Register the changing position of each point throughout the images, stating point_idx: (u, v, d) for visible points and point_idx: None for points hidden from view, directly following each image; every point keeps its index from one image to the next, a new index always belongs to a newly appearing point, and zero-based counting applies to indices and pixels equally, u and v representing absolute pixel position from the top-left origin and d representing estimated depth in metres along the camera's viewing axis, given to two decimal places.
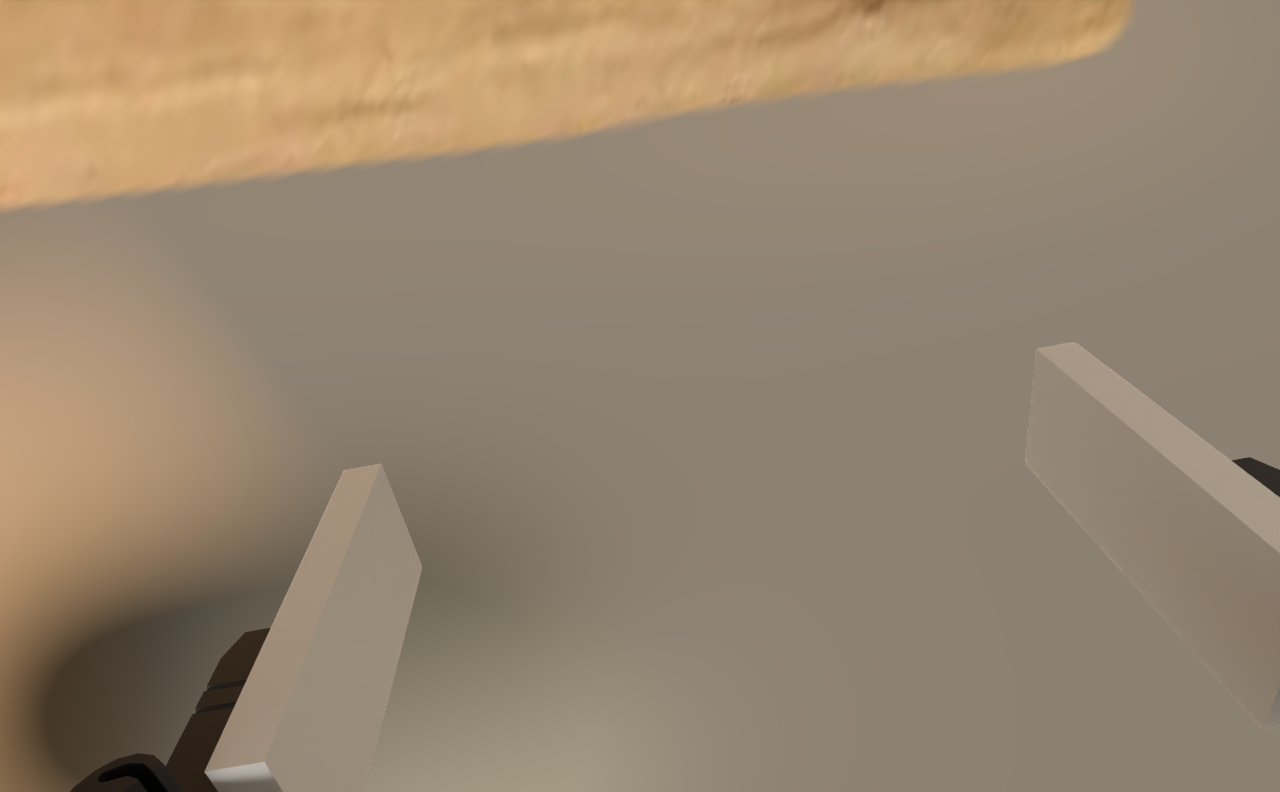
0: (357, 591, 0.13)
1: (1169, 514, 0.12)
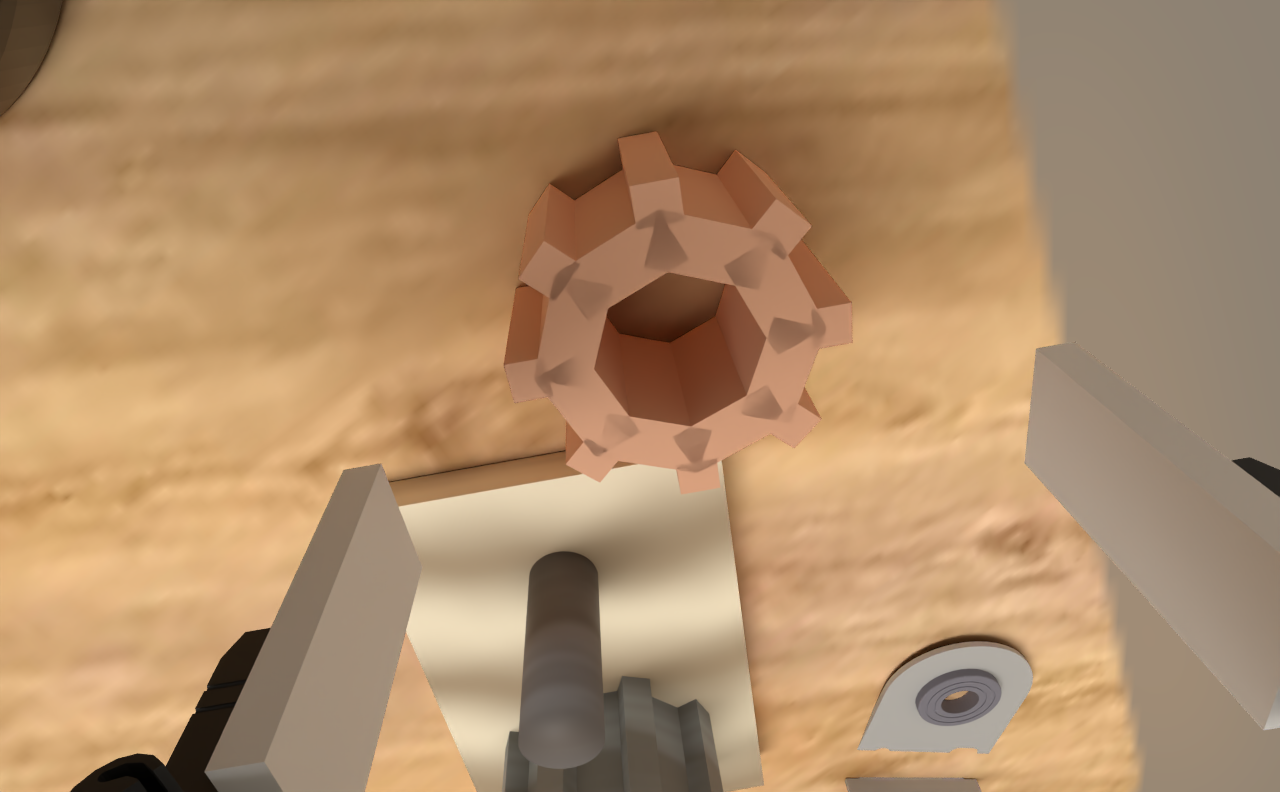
0: (357, 591, 0.13)
1: (1169, 514, 0.12)
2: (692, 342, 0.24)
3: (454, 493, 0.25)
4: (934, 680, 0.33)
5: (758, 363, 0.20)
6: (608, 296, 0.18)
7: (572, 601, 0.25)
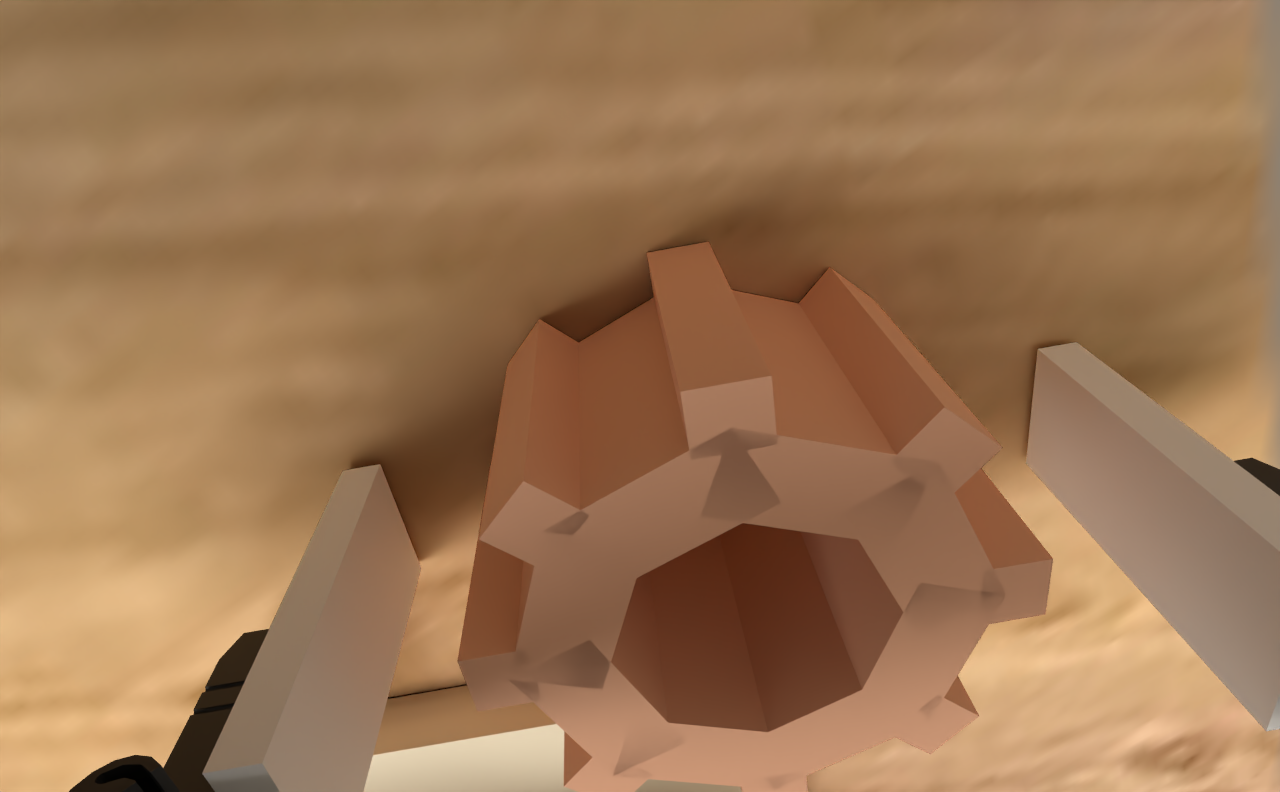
0: (356, 592, 0.13)
1: (1171, 514, 0.12)
2: (754, 540, 0.16)
3: (404, 742, 0.17)
4: None
5: (886, 646, 0.12)
6: (637, 560, 0.10)
7: None
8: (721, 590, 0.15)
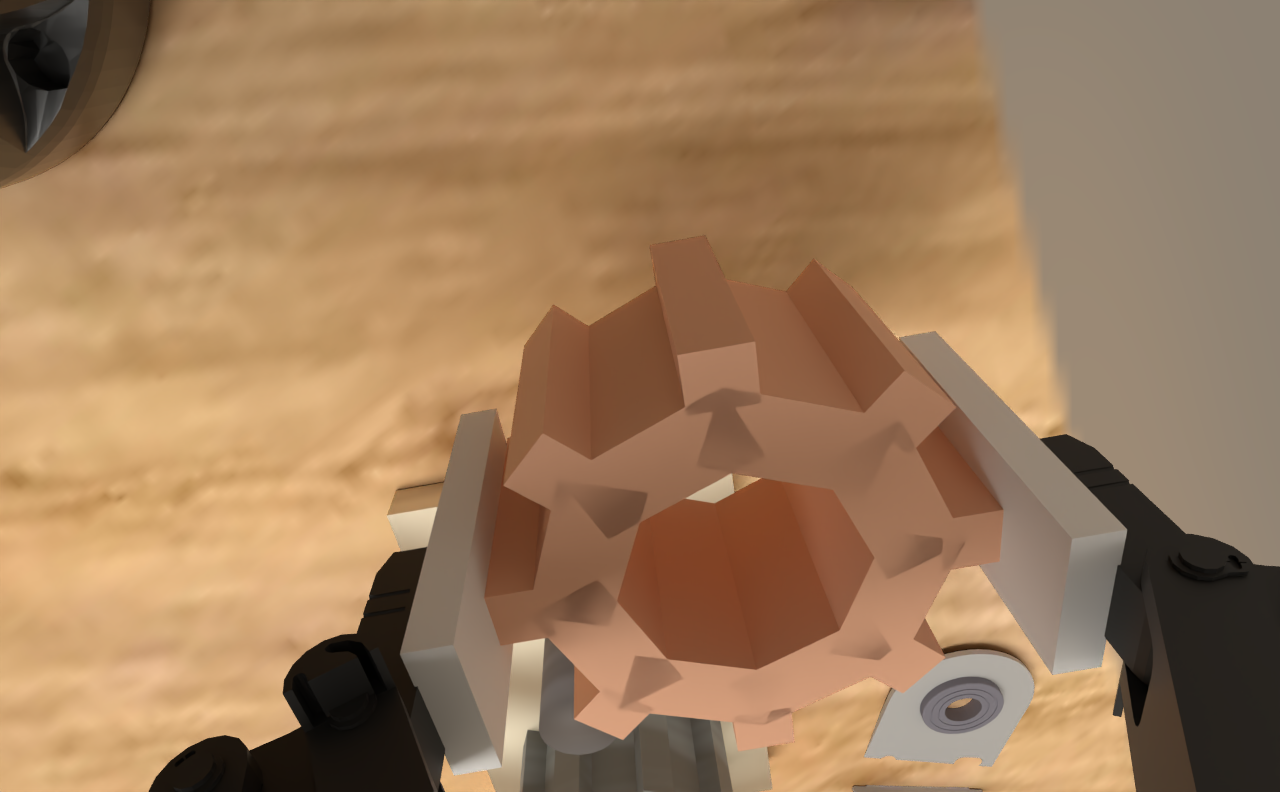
0: (491, 517, 0.14)
1: (986, 484, 0.13)
2: (747, 509, 0.17)
3: None
4: (937, 687, 0.34)
5: (860, 590, 0.13)
6: (640, 507, 0.12)
7: None
8: (716, 552, 0.17)
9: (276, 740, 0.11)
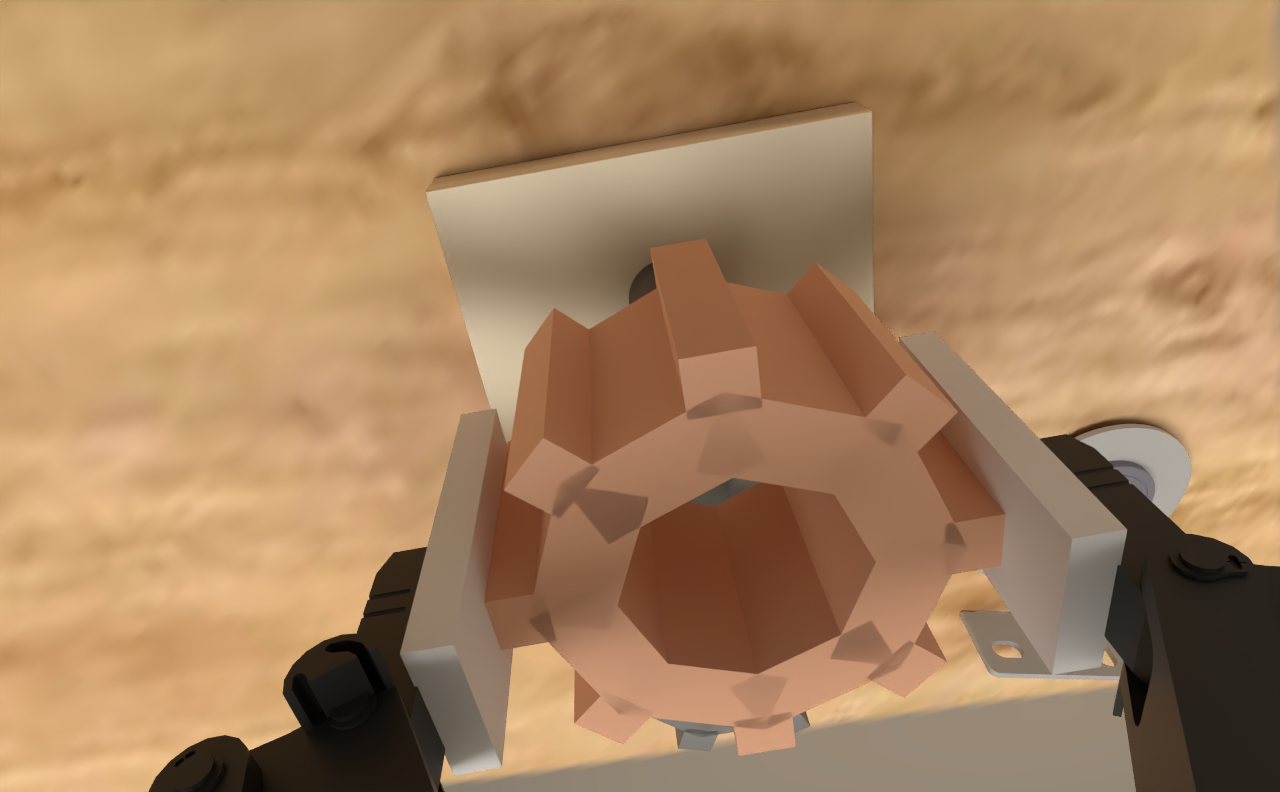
0: (491, 517, 0.14)
1: (986, 484, 0.13)
2: (747, 512, 0.17)
3: (546, 168, 0.21)
4: None
5: (861, 594, 0.13)
6: (641, 511, 0.12)
7: None
8: (717, 556, 0.17)
9: (275, 740, 0.11)
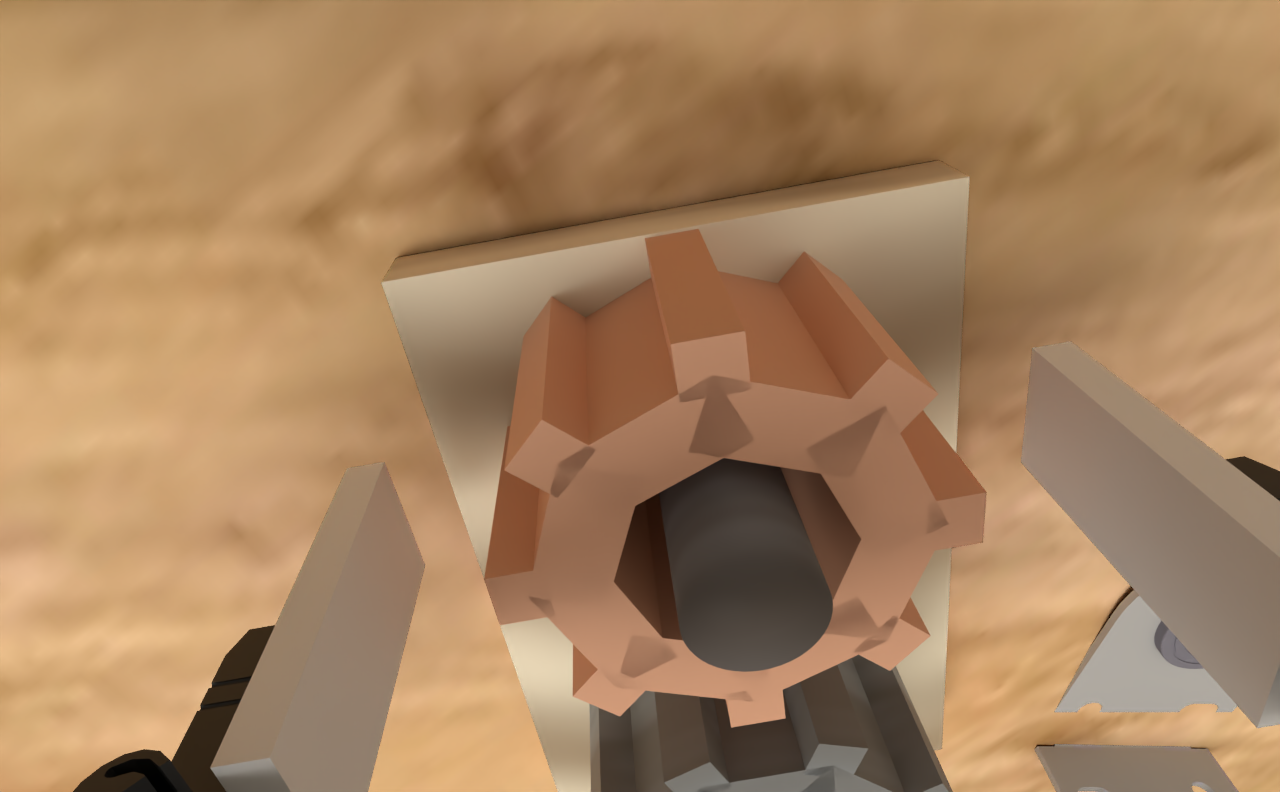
0: (361, 589, 0.13)
1: (1163, 513, 0.12)
2: None
3: (540, 250, 0.16)
4: None
5: (847, 570, 0.14)
6: (636, 490, 0.13)
7: None
8: None
9: None
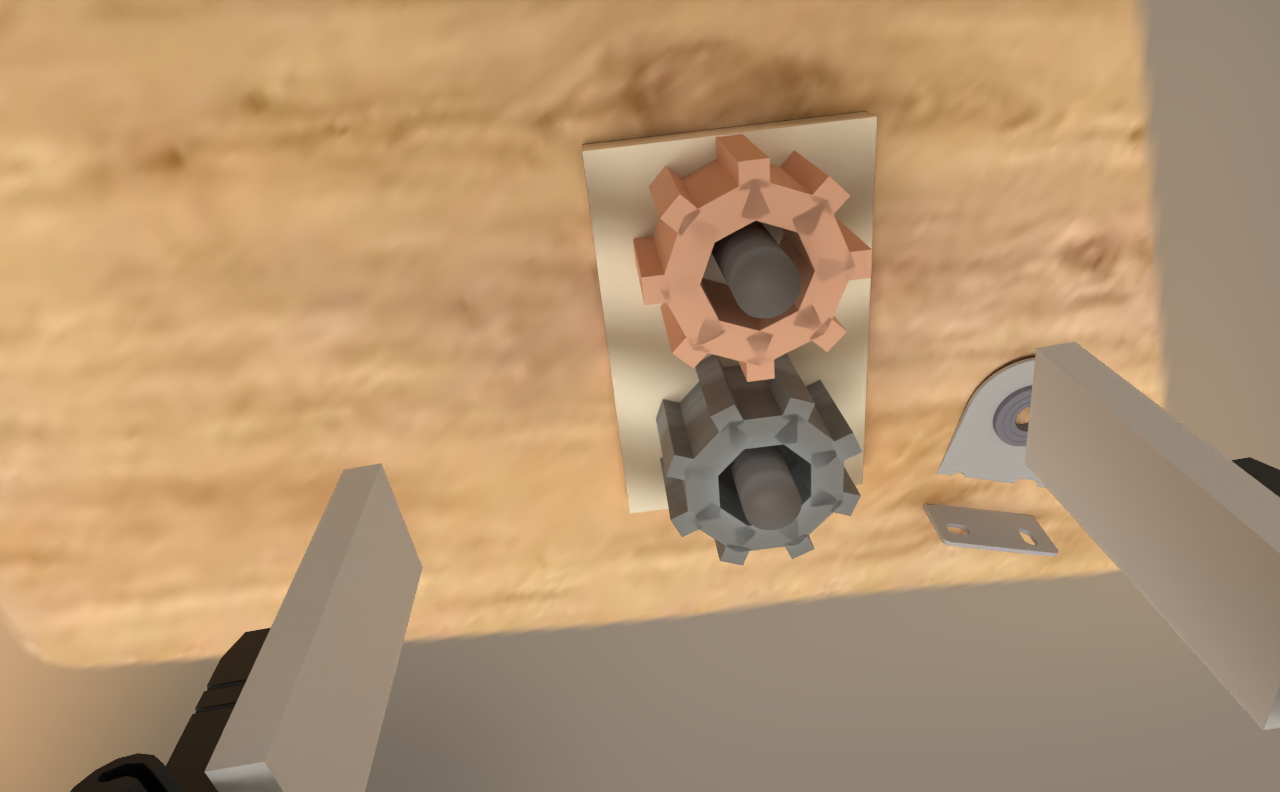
0: (357, 591, 0.13)
1: (1169, 514, 0.12)
2: None
3: (662, 141, 0.31)
4: (1012, 394, 0.39)
5: (808, 288, 0.29)
6: (716, 234, 0.28)
7: (757, 224, 0.31)
8: None
9: None
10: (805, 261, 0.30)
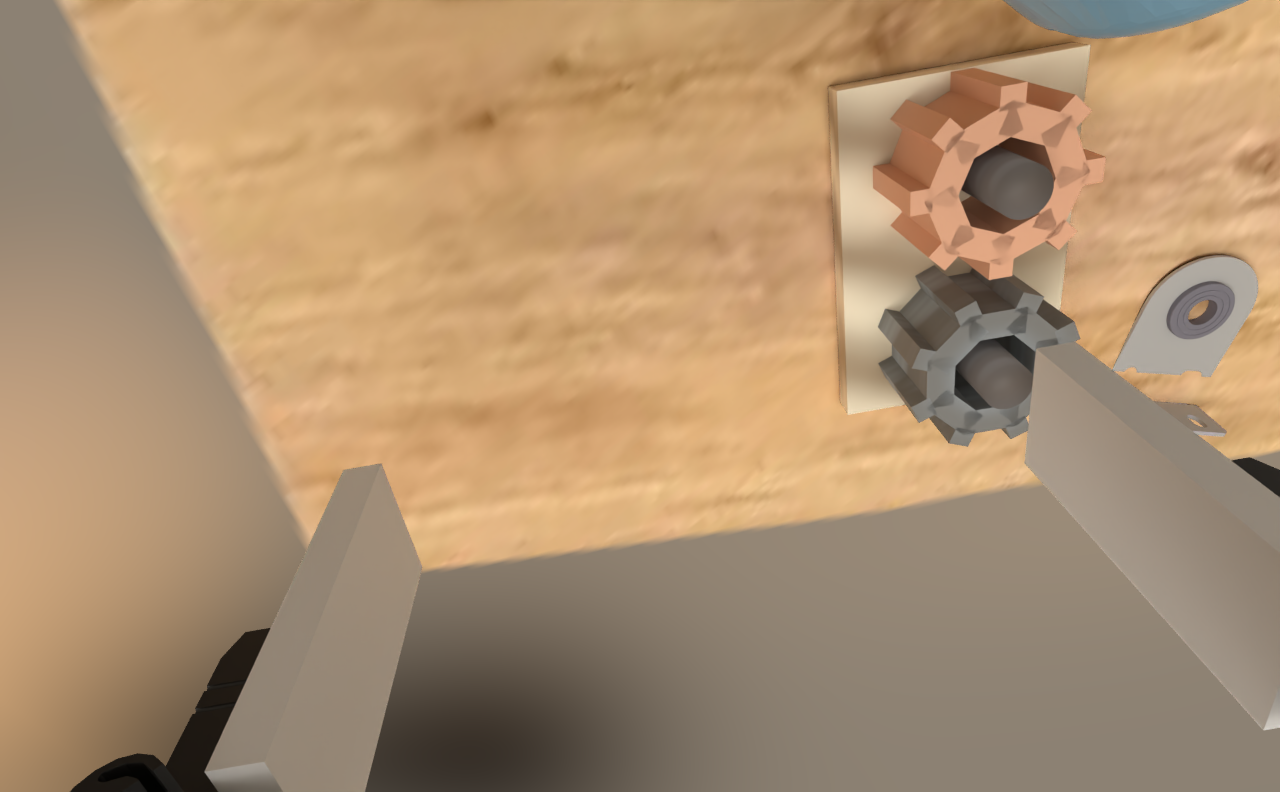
0: (357, 591, 0.13)
1: (1169, 514, 0.12)
2: (976, 201, 0.39)
3: (904, 78, 0.37)
4: (1186, 291, 0.44)
5: None
6: (976, 150, 0.33)
7: None
8: (968, 213, 0.38)
9: None
10: None
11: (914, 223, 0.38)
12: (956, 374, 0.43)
